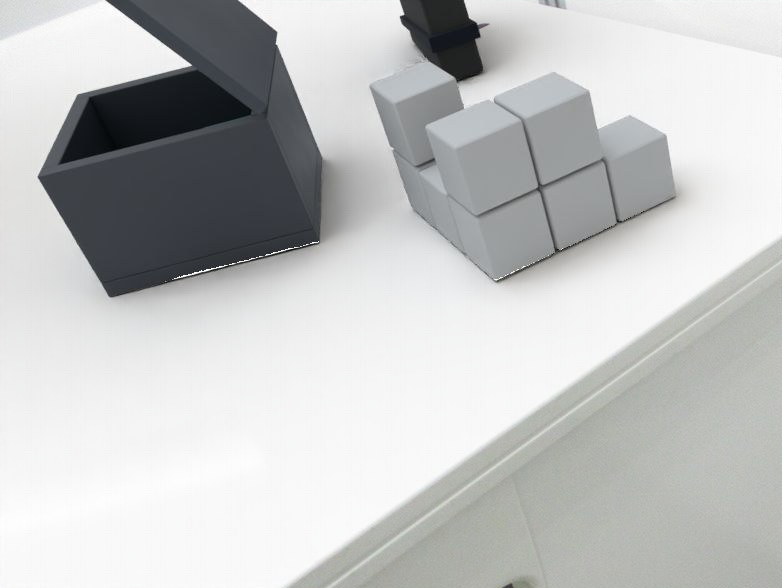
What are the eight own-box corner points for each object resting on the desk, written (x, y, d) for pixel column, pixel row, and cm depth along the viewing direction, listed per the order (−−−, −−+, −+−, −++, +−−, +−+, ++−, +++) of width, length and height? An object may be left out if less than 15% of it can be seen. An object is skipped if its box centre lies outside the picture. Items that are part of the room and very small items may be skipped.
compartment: (109, 297, 65) (36, 177, 60) (137, 206, 74) (76, 94, 69) (319, 243, 66) (266, 118, 60) (323, 158, 74) (277, 43, 69)
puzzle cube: (677, 196, 62) (655, 61, 57) (495, 283, 59) (453, 147, 53) (576, 134, 70) (548, 11, 65) (410, 207, 67) (367, 83, 61)
